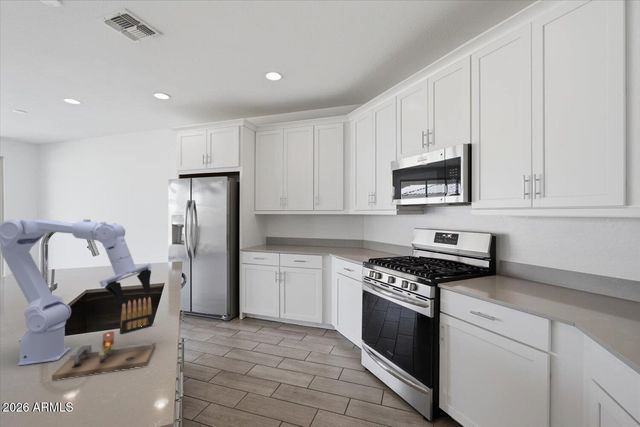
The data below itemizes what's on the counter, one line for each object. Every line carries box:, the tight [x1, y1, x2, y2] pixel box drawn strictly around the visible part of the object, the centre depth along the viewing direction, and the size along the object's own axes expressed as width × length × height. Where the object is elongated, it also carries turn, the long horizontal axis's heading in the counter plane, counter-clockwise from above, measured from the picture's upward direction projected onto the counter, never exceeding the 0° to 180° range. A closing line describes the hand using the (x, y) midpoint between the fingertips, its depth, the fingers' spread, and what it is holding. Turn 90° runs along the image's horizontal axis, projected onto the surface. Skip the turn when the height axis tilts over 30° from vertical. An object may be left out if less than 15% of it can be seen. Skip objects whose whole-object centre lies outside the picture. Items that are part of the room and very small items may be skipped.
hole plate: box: [51, 342, 156, 381], centre depth 85 cm, size 22×13×2 cm, turn 110°
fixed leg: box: [73, 344, 93, 367], centre depth 82 cm, size 2×7×3 cm, turn 20°
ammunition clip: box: [119, 296, 153, 335], centre depth 110 cm, size 11×2×12 cm, turn 141°
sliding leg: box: [99, 331, 116, 363], centre depth 85 cm, size 3×7×6 cm, turn 20°
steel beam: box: [68, 342, 153, 360], centre depth 87 cm, size 21×2×2 cm, turn 110°
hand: (136, 298), depth 91 cm, fingers open, 7 cm apart
